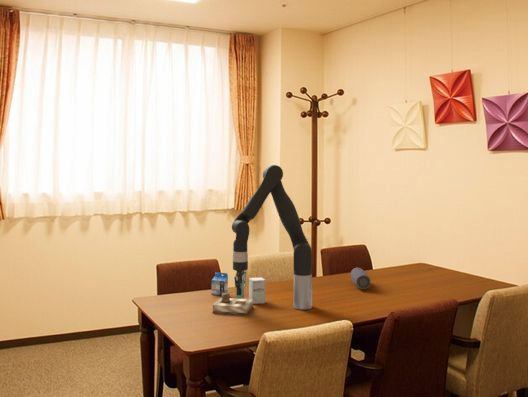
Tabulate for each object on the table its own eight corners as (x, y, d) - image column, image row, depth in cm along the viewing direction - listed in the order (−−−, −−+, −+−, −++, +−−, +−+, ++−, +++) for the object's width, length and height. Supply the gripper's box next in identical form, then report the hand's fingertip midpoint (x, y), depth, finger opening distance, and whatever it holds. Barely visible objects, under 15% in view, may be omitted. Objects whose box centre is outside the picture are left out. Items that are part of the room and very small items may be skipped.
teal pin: (244, 296, 257) (245, 279, 257) (242, 298, 254) (243, 280, 253) (237, 296, 258) (237, 278, 258) (235, 298, 254) (235, 280, 254)
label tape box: (211, 294, 288) (211, 273, 287) (215, 293, 291) (214, 271, 291) (224, 296, 284) (224, 274, 283) (228, 294, 287) (228, 273, 287)
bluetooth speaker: (371, 291, 295) (371, 274, 295) (355, 291, 296) (355, 274, 295) (364, 282, 318) (364, 266, 318) (349, 282, 318) (349, 266, 318)
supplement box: (251, 304, 267) (251, 280, 267) (248, 300, 274) (248, 277, 274) (265, 303, 269) (265, 279, 268) (261, 299, 276) (261, 276, 276)
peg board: (252, 307, 262) (252, 291, 262) (246, 315, 248) (246, 298, 248) (220, 305, 266) (220, 290, 265) (212, 312, 252) (212, 296, 251)
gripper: (244, 263, 247) (244, 298, 248) (251, 258, 261) (250, 291, 262) (229, 262, 249) (229, 297, 250) (236, 257, 262) (236, 290, 264)
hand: (240, 293), depth 256 cm, fingers closed on teal pin, 4 cm apart
